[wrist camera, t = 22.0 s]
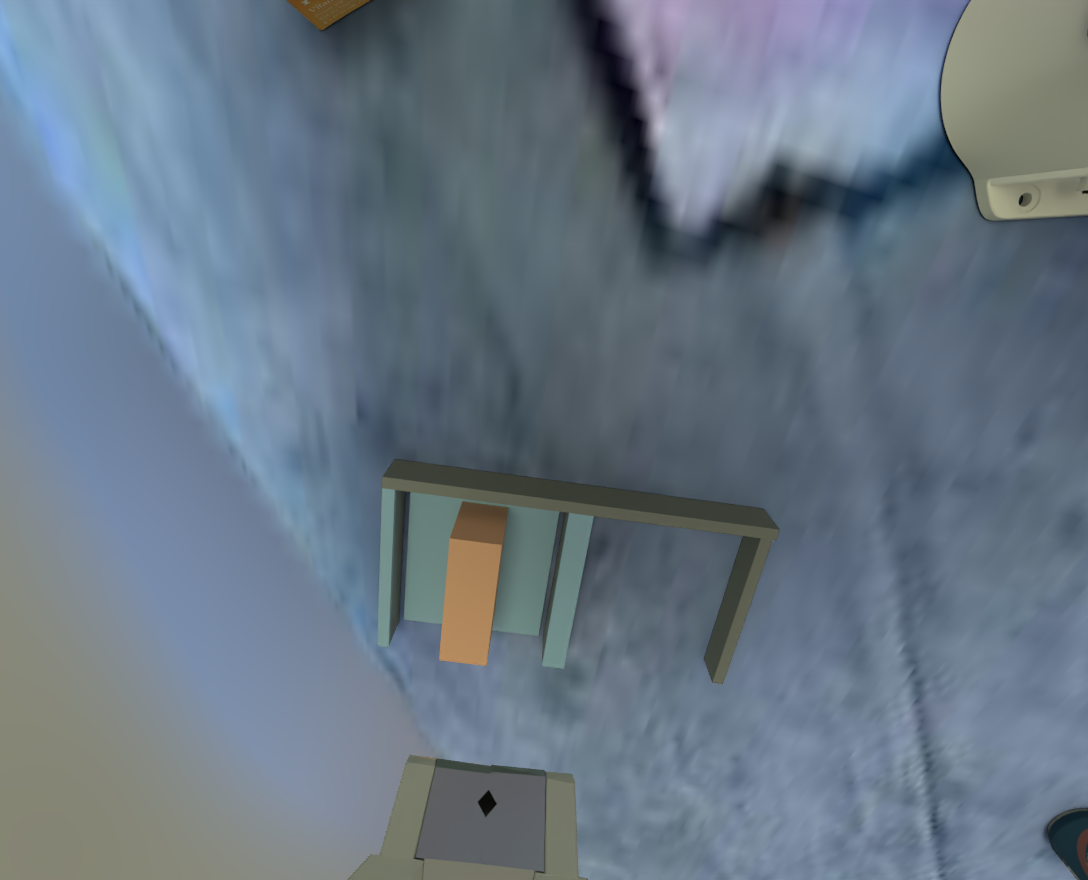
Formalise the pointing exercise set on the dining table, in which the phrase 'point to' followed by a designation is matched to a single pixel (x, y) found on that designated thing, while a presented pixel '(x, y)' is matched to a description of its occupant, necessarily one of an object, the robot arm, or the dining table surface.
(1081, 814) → the soda can
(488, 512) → the long orange rectangular block
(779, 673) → the dining table surface
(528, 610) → the gate frame with panel
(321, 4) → the small box
